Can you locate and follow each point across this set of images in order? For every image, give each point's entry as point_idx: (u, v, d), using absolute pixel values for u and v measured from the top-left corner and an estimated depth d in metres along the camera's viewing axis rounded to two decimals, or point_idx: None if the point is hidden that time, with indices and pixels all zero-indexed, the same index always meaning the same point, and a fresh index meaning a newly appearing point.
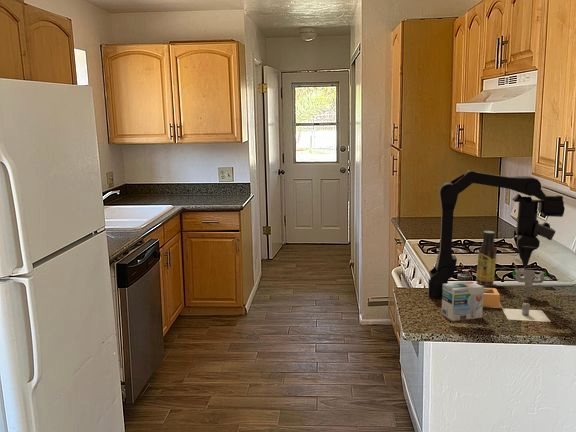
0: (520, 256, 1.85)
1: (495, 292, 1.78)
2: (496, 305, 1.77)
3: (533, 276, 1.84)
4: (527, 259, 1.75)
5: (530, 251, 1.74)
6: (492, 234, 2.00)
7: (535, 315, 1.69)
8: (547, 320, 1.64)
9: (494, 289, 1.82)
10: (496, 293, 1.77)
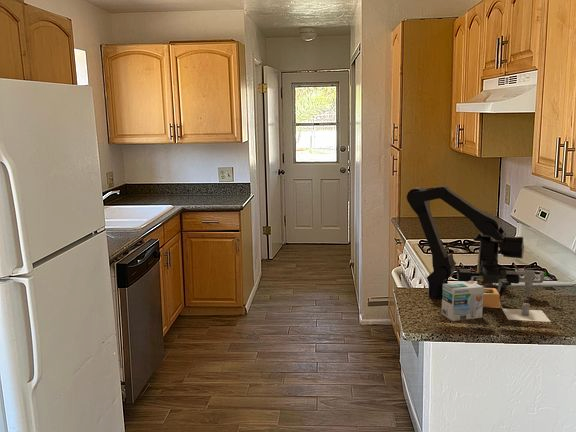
0: None
1: (495, 292, 1.78)
2: (496, 305, 1.77)
3: (533, 276, 1.84)
4: None
5: None
6: None
7: (535, 315, 1.69)
8: (547, 320, 1.64)
9: (494, 289, 1.82)
10: (496, 293, 1.77)
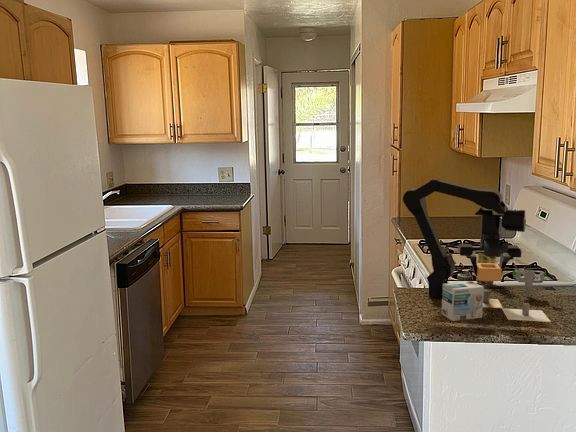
0: None
1: (497, 267, 1.77)
2: (498, 280, 1.75)
3: (533, 276, 1.84)
4: (473, 269, 1.79)
5: None
6: None
7: (535, 315, 1.69)
8: (547, 320, 1.64)
9: (496, 264, 1.80)
10: (498, 268, 1.76)
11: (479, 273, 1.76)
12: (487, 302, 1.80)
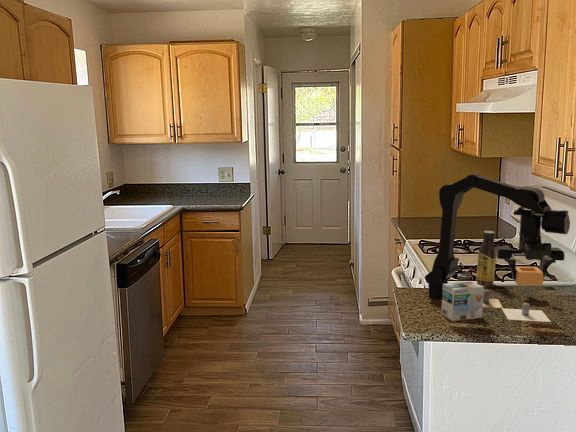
0: None
1: (537, 270, 1.66)
2: (539, 284, 1.64)
3: None
4: (512, 273, 1.68)
5: None
6: (492, 234, 2.00)
7: (535, 315, 1.69)
8: (547, 320, 1.64)
9: (536, 267, 1.69)
10: (539, 271, 1.64)
11: (519, 277, 1.65)
12: (487, 302, 1.80)
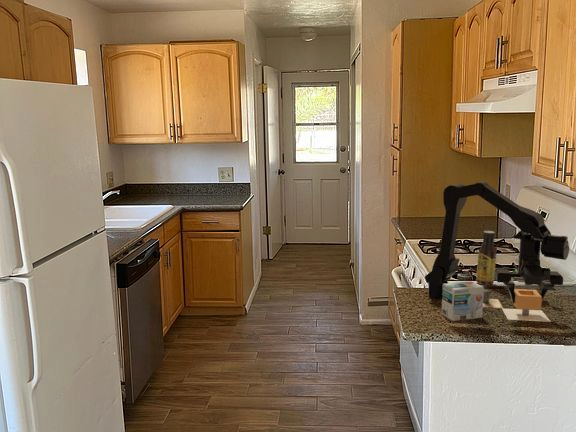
0: None
1: (536, 294, 1.67)
2: (538, 308, 1.65)
3: None
4: (511, 296, 1.69)
5: None
6: (492, 234, 2.00)
7: (535, 315, 1.69)
8: (547, 320, 1.64)
9: (534, 291, 1.70)
10: (538, 295, 1.65)
11: (517, 301, 1.66)
12: (487, 302, 1.80)
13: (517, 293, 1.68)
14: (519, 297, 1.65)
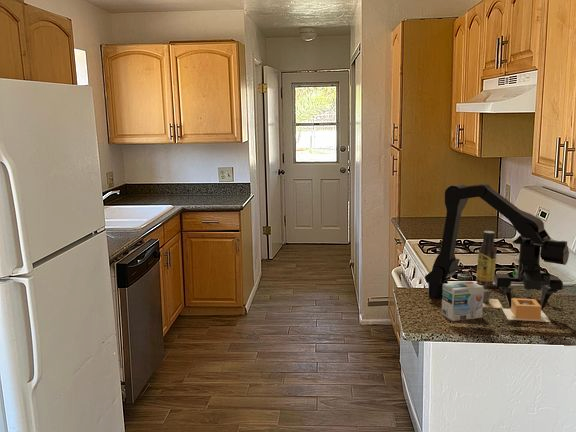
0: None
1: (535, 304, 1.67)
2: (537, 318, 1.65)
3: None
4: (507, 300, 1.69)
5: None
6: (492, 234, 2.00)
7: None
8: (547, 320, 1.64)
9: (534, 300, 1.70)
10: (537, 305, 1.66)
11: (517, 310, 1.66)
12: (487, 302, 1.80)
13: (516, 303, 1.68)
14: (518, 307, 1.66)
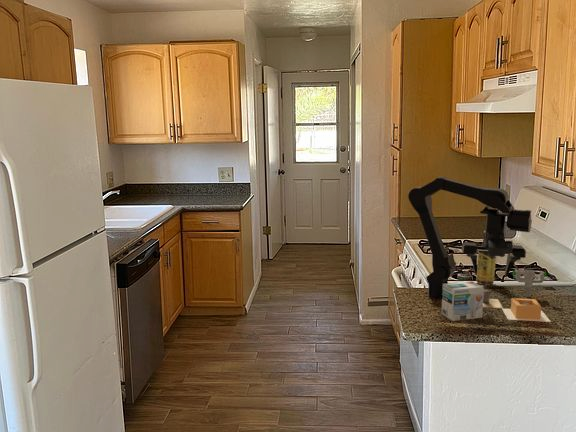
0: (505, 273, 1.77)
1: (535, 304, 1.67)
2: (537, 318, 1.65)
3: (533, 276, 1.84)
4: None
5: None
6: None
7: None
8: (547, 320, 1.64)
9: (534, 300, 1.70)
10: (537, 305, 1.66)
11: (517, 310, 1.66)
12: (487, 302, 1.80)
13: (516, 303, 1.68)
14: (518, 307, 1.66)
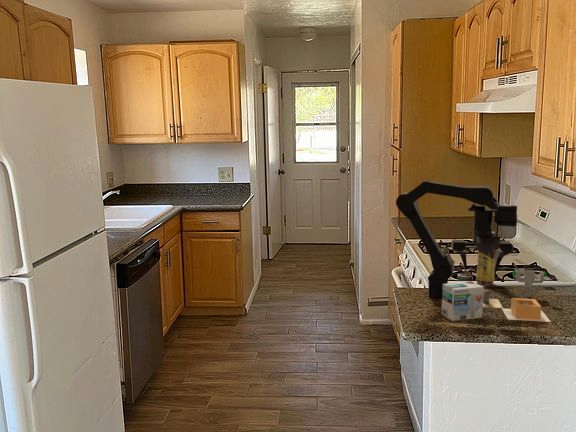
0: (494, 268, 1.81)
1: (535, 304, 1.67)
2: (537, 318, 1.65)
3: (533, 276, 1.84)
4: (463, 264, 1.81)
5: None
6: (492, 234, 2.00)
7: None
8: (547, 320, 1.64)
9: (534, 300, 1.70)
10: (537, 305, 1.66)
11: (517, 310, 1.66)
12: (487, 302, 1.80)
13: (516, 303, 1.68)
14: (518, 307, 1.66)
